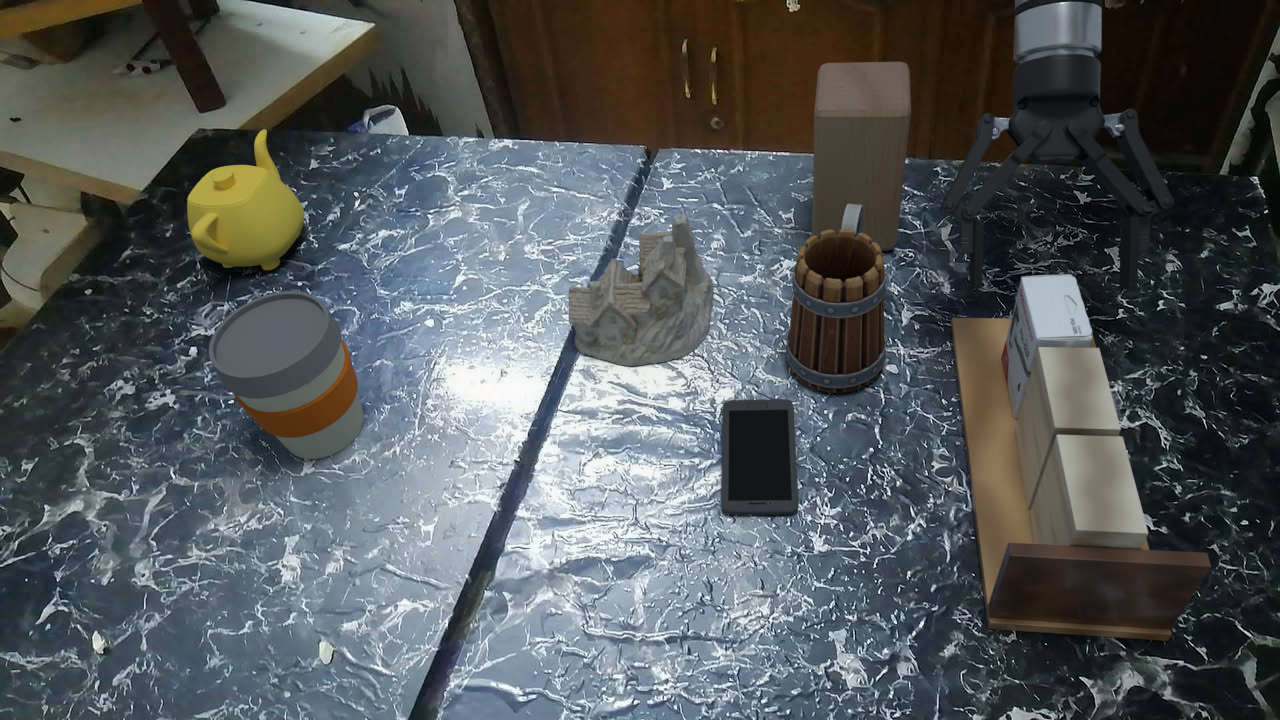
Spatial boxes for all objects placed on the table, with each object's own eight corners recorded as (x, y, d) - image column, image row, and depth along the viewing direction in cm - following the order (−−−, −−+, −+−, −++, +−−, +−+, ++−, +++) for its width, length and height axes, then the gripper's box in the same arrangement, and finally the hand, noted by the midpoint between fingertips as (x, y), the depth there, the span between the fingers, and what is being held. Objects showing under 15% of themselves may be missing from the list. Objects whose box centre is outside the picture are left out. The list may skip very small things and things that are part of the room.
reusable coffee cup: (264, 406, 106) (204, 312, 95) (371, 370, 108) (324, 274, 97) (272, 488, 98) (207, 397, 87) (388, 448, 100) (339, 353, 89)
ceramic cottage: (727, 273, 112) (709, 173, 101) (696, 377, 102) (673, 279, 91) (606, 267, 116) (577, 171, 106) (565, 366, 107) (528, 272, 96)
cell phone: (793, 402, 97) (793, 397, 96) (799, 515, 88) (799, 511, 87) (722, 404, 98) (722, 399, 97) (721, 516, 89) (720, 511, 88)
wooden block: (895, 201, 117) (910, 57, 103) (896, 254, 111) (912, 108, 96) (815, 200, 119) (818, 59, 105) (811, 252, 113) (814, 108, 98)
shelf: (1086, 326, 99) (1117, 231, 90) (1167, 641, 76) (1222, 557, 66) (950, 325, 102) (966, 232, 92) (987, 629, 78) (1015, 546, 68)
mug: (877, 404, 96) (887, 299, 85) (776, 387, 99) (774, 284, 88) (898, 301, 105) (910, 195, 94) (805, 289, 108) (807, 185, 98)
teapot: (339, 201, 132) (305, 126, 123) (273, 297, 119) (230, 221, 110) (256, 197, 135) (218, 124, 126) (184, 291, 122) (135, 217, 113)
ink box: (998, 356, 97) (1019, 272, 88) (1048, 356, 96) (1073, 271, 87) (1013, 421, 91) (1036, 338, 82) (1065, 421, 90) (1094, 337, 81)
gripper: (1184, 66, 88) (1178, 289, 89) (913, 77, 93) (910, 290, 94) (1219, 43, 81) (1211, 287, 82) (923, 56, 85) (919, 287, 86)
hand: (1050, 289), depth 88 cm, fingers open, 13 cm apart
